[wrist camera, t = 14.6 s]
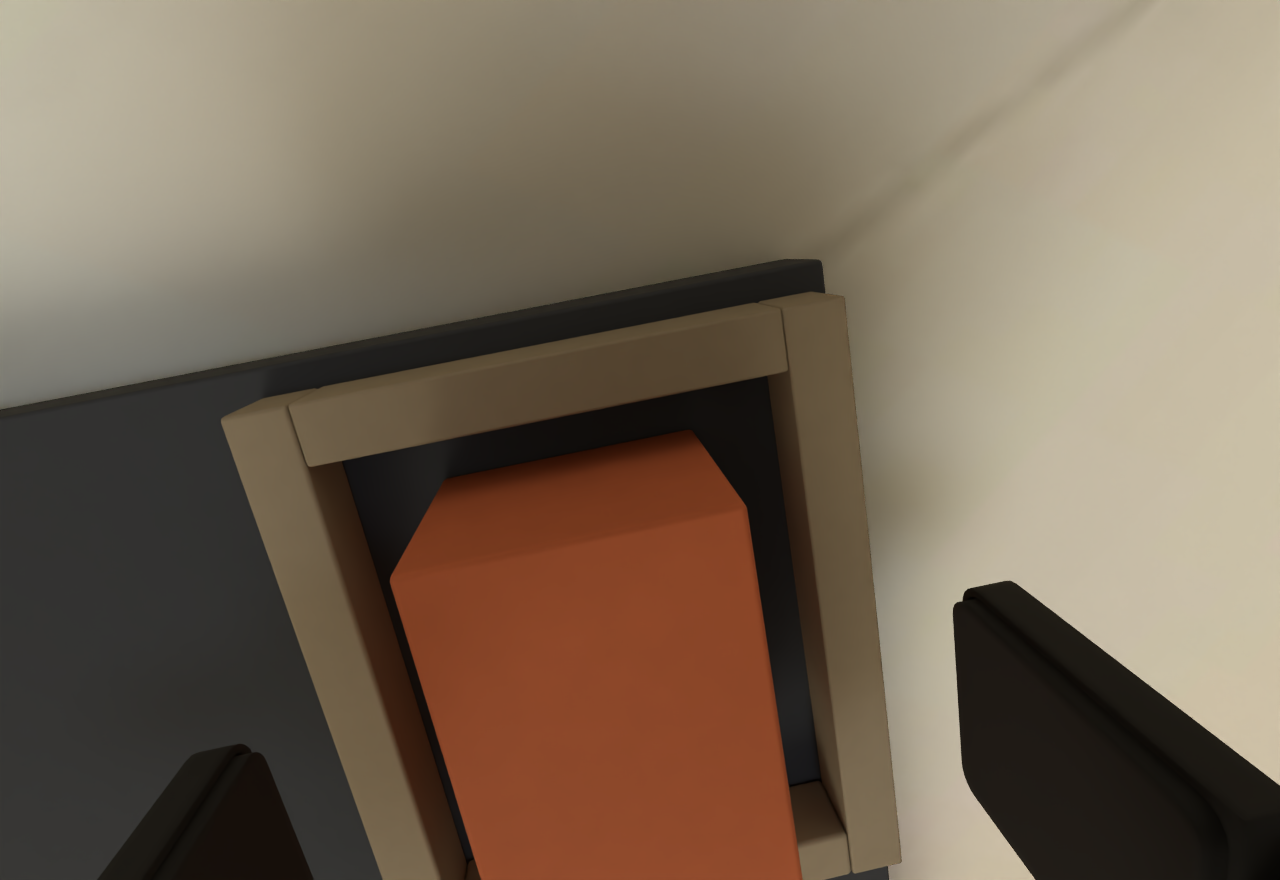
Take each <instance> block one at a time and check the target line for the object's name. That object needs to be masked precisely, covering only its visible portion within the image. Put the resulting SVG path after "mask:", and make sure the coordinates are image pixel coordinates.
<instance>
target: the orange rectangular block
mask: <svg viewBox="0 0 1280 880" xmlns="http://www.w3.org/2000/svg"><path fill="white" fill-rule="evenodd" d="M390 584H391V588H392V591H393V594H394V597H395V601H396V604H397V607H398V610H399V614H400V617H401V620H402V623H403V627H404V630H405V633H406V637H407V640H408V643H409V646H410V650H411V653H412V656H413V659H414V663H415V666H416V669H417V672H418V676H419V679H420V682H421V686H422V689H423V692H424V695H425V699H426V702H427V705H428V708H429V712H430V715H431V718H432V721H433V725H434V728H435V731H436V735H437V738H438V741H439V744H440V748H441V751H442V754H443V757H444V761H445V764H446V767H447V770H448V774H449V777H450V780H451V783H452V787H453V790H454V793H455V797H456V800H457V803H458V806H459V810H460V813H461V816H462V819H463V823H464V826H465V829H466V832H467V836H468V839H469V842H470V846H471V849H472V852H473V855H474V859H475V862H476V865H477V868H478V872H479V875H480V878H481V880H803V878H802V872H801V865H800V858H799V852H798V845H797V838H796V832H795V825H794V818H793V812H792V805H791V798H790V792H789V785H788V778H787V772H786V765H785V758H784V752H783V745H782V738H781V732H780V725H779V718H778V712H777V705H776V698H775V692H774V685H773V678H772V672H771V665H770V659H769V652H768V645H767V639H766V632H765V625H764V619H763V612H762V605H761V599H760V592H759V585H758V579H757V572H756V565H755V559H754V552H753V545H752V539H751V532H750V525H749V519H748V512H747V507H746V505H745V504H744V502H743V501H742V500H741V498H740V497H739V495H738V494H737V493H736V491H735V490H734V488H733V487H732V486H731V484H730V483H729V481H728V480H727V479H726V477H725V476H724V474H723V473H722V472H721V470H720V469H719V467H718V466H717V465H716V463H715V462H714V460H713V459H712V457H711V456H710V455H709V453H708V452H707V450H706V449H705V448H704V446H703V445H702V443H701V442H700V441H699V439H698V438H697V436H696V435H695V434H694V432H693V431H692V430H684V431H679V432H674V433H669V434H664V435H659V436H654V437H649V438H644V439H639V440H635V441H630V442H625V443H620V444H615V445H610V446H605V447H600V448H595V449H590V450H585V451H580V452H575V453H570V454H565V455H561V456H556V457H551V458H546V459H541V460H536V461H531V462H526V463H521V464H516V465H511V466H506V467H501V468H496V469H491V470H487V471H482V472H477V473H472V474H467V475H462V476H457V477H452V478H447V479H446V480H444V481H443V483H442V485H441V486H440V488H439V490H438V492H437V494H436V495H435V497H434V499H433V501H432V503H431V505H430V506H429V508H428V510H427V512H426V514H425V515H424V517H423V519H422V521H421V523H420V524H419V526H418V528H417V530H416V532H415V533H414V535H413V537H412V539H411V541H410V542H409V544H408V546H407V548H406V550H405V552H404V553H403V555H402V557H401V559H400V561H399V562H398V564H397V566H396V568H395V570H394V571H393V573H392V575H391V577H390Z"/></svg>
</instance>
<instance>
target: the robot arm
mask: <svg viewBox="0 0 1280 880" xmlns="http://www.w3.org/2000/svg"><path fill="white" fill-rule="evenodd" d="M953 624H954V640H955V657H956V673H957V690H958V706H959V723H960V739H961V756H962V767H963V771H964V775H965V778H966V780H967V783H968V785H969V787H970V789H971V791H972V793H973V794H974V796H975V797H976V799H977V800H978V801H979V803H980V804H981V805H982V807H983V808H984V810H985V811H986V812H987V814H988V815H989V816H990V818H991V819H992V821H993V822H994V823H995V825H996V826H997V827H998V829H999V830H1000V832H1001V833H1002V834H1003V836H1004V837H1005V838H1006V840H1007V841H1008V843H1009V844H1010V845H1011V847H1012V848H1013V849H1014V851H1015V852H1016V854H1017V855H1018V856H1019V858H1020V859H1021V860H1022V862H1023V863H1024V865H1025V866H1026V867H1027V869H1028V870H1029V871H1030V873H1031V874H1032V876H1033V877H1034V878H1035V880H1280V785H1278V784H1277V783H1276V782H1274V781H1273V780H1272V779H1270V778H1269V777H1268V776H1266V775H1265V774H1264V773H1263V772H1261V771H1260V770H1259V769H1257V768H1256V767H1255V766H1253V765H1252V764H1251V763H1250V762H1248V761H1247V760H1246V759H1244V758H1243V757H1242V756H1240V755H1239V754H1238V753H1236V752H1235V751H1234V750H1233V749H1231V748H1230V747H1229V746H1227V745H1226V744H1225V743H1223V742H1222V741H1221V740H1220V739H1218V738H1217V737H1216V736H1214V735H1213V734H1212V733H1210V732H1209V731H1208V730H1206V729H1205V728H1204V727H1203V726H1201V725H1200V724H1199V723H1197V722H1196V721H1195V720H1193V719H1192V718H1191V717H1190V716H1188V715H1187V714H1186V713H1184V712H1183V711H1182V710H1180V709H1179V708H1178V707H1176V706H1175V705H1174V704H1173V703H1171V702H1170V701H1169V700H1167V699H1166V698H1165V697H1163V696H1162V695H1161V694H1160V693H1158V692H1157V691H1156V690H1154V689H1153V688H1152V687H1150V686H1149V685H1148V684H1146V683H1145V682H1144V681H1143V680H1141V679H1140V678H1139V677H1137V676H1136V675H1135V674H1133V673H1132V672H1131V671H1130V670H1128V669H1127V668H1126V667H1124V666H1123V665H1122V664H1120V663H1119V662H1118V661H1116V660H1115V659H1114V658H1113V657H1111V656H1110V655H1109V654H1107V653H1106V652H1105V651H1103V650H1102V649H1101V648H1100V647H1098V646H1097V645H1096V644H1094V643H1093V642H1092V641H1090V640H1089V639H1088V638H1086V637H1085V636H1084V635H1083V634H1081V633H1080V632H1079V631H1077V630H1076V629H1075V628H1073V627H1072V626H1071V625H1070V624H1068V623H1067V622H1066V621H1064V620H1063V619H1062V618H1060V617H1059V616H1058V615H1056V614H1055V613H1054V612H1053V611H1051V610H1050V609H1049V608H1047V607H1046V606H1045V605H1043V604H1042V603H1041V602H1040V601H1038V600H1037V599H1036V598H1034V597H1033V596H1032V595H1030V594H1029V593H1028V592H1026V591H1025V590H1024V589H1023V588H1021V587H1020V586H1019V585H1017V584H1016V583H1014V582H1012V581H1003V582H998V583H993V584H989V585H984V586H979V587H975V588H970V589H967V590H966V591H965V593H964V596H963V601H962V602H957V603H956V604H955V605H954V608H953ZM97 880H314V878H313V876H312V873H311V871H310V868H309V866H308V863H307V861H306V858H305V856H304V853H303V851H302V848H301V846H300V843H299V841H298V838H297V836H296V833H295V831H294V828H293V826H292V823H291V821H290V818H289V816H288V813H287V811H286V808H285V806H284V803H283V801H282V798H281V796H280V793H279V791H278V788H277V786H276V783H275V781H274V778H273V776H272V773H271V771H270V768H269V766H268V763H267V761H266V759H265V757H264V756H263V755H262V754H261V753H259V752H253V753H252V751H251V749H250V748H249V747H247V746H246V745H245V744H235V745H230V746H226V747H221V748H216V749H212V750H207V751H202V752H198V753H195V754H193V755H191V756H190V757H189V758H188V759H187V760H186V762H185V763H184V764H183V766H182V767H181V768H180V770H179V771H178V772H177V774H176V775H175V776H174V778H173V779H172V780H171V782H170V783H169V784H168V786H167V787H166V788H165V790H164V791H163V792H162V794H161V795H160V796H159V798H158V799H157V800H156V802H155V803H154V804H153V806H152V807H151V808H150V810H149V811H148V812H147V814H146V815H145V816H144V818H143V819H142V820H141V822H140V823H139V824H138V826H137V827H136V828H135V830H134V831H133V832H132V834H131V835H130V836H129V838H128V839H127V840H126V842H125V843H124V844H123V846H122V847H121V848H120V850H119V851H118V852H117V854H116V855H115V856H114V858H113V859H112V860H111V862H110V863H109V864H108V866H107V867H106V868H105V870H104V871H103V872H102V874H101V875H100V876H99V878H98V879H97Z"/></svg>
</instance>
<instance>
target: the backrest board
mask: <svg viewBox="0 0 1280 880" xmlns="http://www.w3.org/2000/svg"><path fill="white" fill-rule="evenodd" d="M684 430H692V431H693V432H694V434H695V435H696V436H697V438H698V439H699V441H700V442H701V443H702V445H703V446H704V448H705V449H706V450H707V452H708V453H709V455H710V456H711V457H712V459H713V460H714V462H715V463H716V465H717V466H718V467H719V469H720V470H721V472H722V473H723V474H724V476H725V477H726V479H727V480H728V481H729V483H730V484H731V486H732V487H733V488H734V490H735V491H736V493H737V494H738V495H739V497H740V498H741V500H742V501H743V502H744V504H745V505H746V507H747V512H748V519H749V525H750V532H751V539H752V545H753V552H754V559H755V565H756V572H757V579H758V585H759V592H760V599H761V605H762V612H763V619H764V625H765V632H766V639H767V645H768V652H769V659H770V665H771V672H772V678H773V685H774V692H775V698H776V705H777V712H778V718H779V725H780V732H781V738H782V745H783V752H784V758H785V765H786V772H787V778H788V785H789V792H790V798H791V805H792V812H793V818H794V825H795V832H796V838H797V845H798V852H799V858H800V865H801V872H802V878H803V880H889V874H888V866H889V865H893V864H898V863H901V861H902V859H901V849H900V839H899V829H898V820H897V810H896V800H895V790H894V780H893V770H892V761H891V751H890V741H889V731H888V721H887V711H886V701H885V692H884V682H883V672H882V662H881V652H880V642H879V632H878V623H877V613H876V603H875V593H874V583H873V573H872V563H871V554H870V544H869V534H868V524H867V514H866V504H865V494H864V485H863V475H862V465H861V455H860V445H859V435H858V425H857V416H856V406H855V396H854V386H853V376H852V366H851V356H850V347H849V337H848V327H847V317H846V307H845V298H844V297H843V296H839V295H832V294H825V284H824V275H823V266H822V262H821V260H815V259H783V260H778V261H773V262H768V263H762V264H757V265H752V266H747V267H742V268H736V269H731V270H726V271H721V272H716V273H710V274H705V275H700V276H695V277H690V278H684V279H679V280H674V281H669V282H664V283H658V284H653V285H648V286H643V287H638V288H632V289H627V290H622V291H617V292H611V293H606V294H601V295H596V296H591V297H585V298H580V299H575V300H570V301H565V302H559V303H554V304H549V305H544V306H539V307H533V308H528V309H523V310H518V311H513V312H507V313H502V314H497V315H492V316H487V317H481V318H476V319H471V320H466V321H461V322H455V323H450V324H445V325H440V326H435V327H429V328H424V329H419V330H414V331H408V332H403V333H398V334H393V335H388V336H382V337H377V338H372V339H367V340H362V341H356V342H351V343H346V344H341V345H336V346H330V347H325V348H320V349H315V350H310V351H304V352H299V353H294V354H289V355H284V356H278V357H273V358H268V359H263V360H258V361H252V362H247V363H242V364H237V365H232V366H226V367H221V368H216V369H211V370H205V371H200V372H195V373H190V374H185V375H179V376H174V377H169V378H164V379H159V380H153V381H148V382H143V383H138V384H133V385H127V386H122V387H117V388H112V389H107V390H101V391H96V392H91V393H86V394H81V395H75V396H70V397H65V398H60V399H55V400H49V401H44V402H39V403H34V404H29V405H23V406H18V407H13V408H8V409H2V410H0V880H97V879H98V878H99V876H100V875H101V874H102V872H103V871H104V870H105V868H106V867H107V866H108V864H109V863H110V862H111V860H112V859H113V858H114V856H115V855H116V854H117V852H118V851H119V850H120V848H121V847H122V846H123V844H124V843H125V842H126V840H127V839H128V838H129V836H130V835H131V834H132V832H133V831H134V830H135V828H136V827H137V826H138V824H139V823H140V822H141V820H142V819H143V818H144V816H145V815H146V814H147V812H148V811H149V810H150V808H151V807H152V806H153V804H154V803H155V802H156V800H157V799H158V798H159V796H160V795H161V794H162V792H163V791H164V790H165V788H166V787H167V786H168V784H169V783H170V782H171V780H172V779H173V778H174V776H175V775H176V774H177V772H178V771H179V770H180V768H181V767H182V766H183V764H184V763H185V762H186V760H187V759H188V758H189V757H190V756H191V755H193V754H195V753H198V752H202V751H207V750H212V749H216V748H221V747H226V746H230V745H235V744H245V745H246V746H247V747H249V748H250V749H251V751H252V753H253V752H259V753H261V754H262V755H263V756H264V757H265V759H266V761H267V763H268V766H269V768H270V771H271V773H272V776H273V778H274V781H275V783H276V786H277V788H278V791H279V793H280V796H281V798H282V801H283V803H284V806H285V808H286V811H287V813H288V816H289V818H290V821H291V823H292V826H293V828H294V831H295V833H296V836H297V838H298V841H299V843H300V846H301V848H302V851H303V853H304V856H305V858H306V861H307V863H308V866H309V868H310V871H311V873H312V876H313V878H314V880H481V878H480V875H479V872H478V868H477V865H476V862H475V859H474V855H473V852H472V849H471V846H470V842H469V839H468V836H467V832H466V829H465V826H464V823H463V819H462V816H461V813H460V810H459V806H458V803H457V800H456V797H455V793H454V790H453V787H452V783H451V780H450V777H449V774H448V770H447V767H446V764H445V761H444V757H443V754H442V751H441V748H440V744H439V741H438V738H437V735H436V731H435V728H434V725H433V721H432V718H431V715H430V712H429V708H428V705H427V702H426V699H425V695H424V692H423V689H422V686H421V682H420V679H419V676H418V672H417V669H416V666H415V663H414V659H413V656H412V653H411V650H410V646H409V643H408V640H407V637H406V633H405V630H404V627H403V623H402V620H401V617H400V614H399V610H398V607H397V604H396V601H395V597H394V594H393V591H392V588H391V584H390V577H391V575H392V573H393V571H394V570H395V568H396V566H397V564H398V562H399V561H400V559H401V557H402V555H403V553H404V552H405V550H406V548H407V546H408V544H409V542H410V541H411V539H412V537H413V535H414V533H415V532H416V530H417V528H418V526H419V524H420V523H421V521H422V519H423V517H424V515H425V514H426V512H427V510H428V508H429V506H430V505H431V503H432V501H433V499H434V497H435V495H436V494H437V492H438V490H439V488H440V486H441V485H442V483H443V481H444V480H446V479H447V478H452V477H457V476H462V475H467V474H472V473H477V472H482V471H487V470H491V469H496V468H501V467H506V466H511V465H516V464H521V463H526V462H531V461H536V460H541V459H546V458H551V457H556V456H561V455H565V454H570V453H575V452H580V451H585V450H590V449H595V448H600V447H605V446H610V445H615V444H620V443H625V442H630V441H635V440H639V439H644V438H649V437H654V436H659V435H664V434H669V433H674V432H679V431H684Z"/></svg>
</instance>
